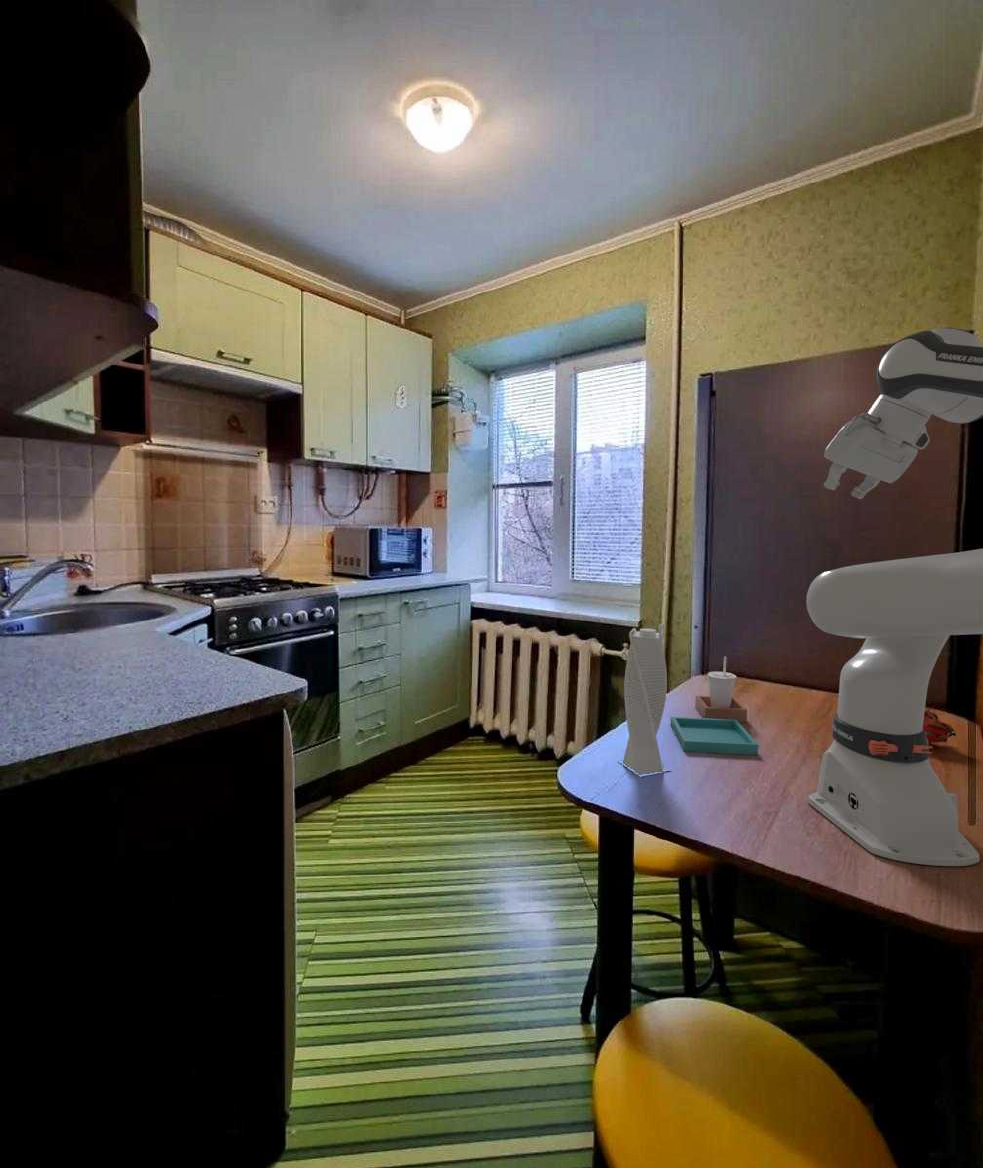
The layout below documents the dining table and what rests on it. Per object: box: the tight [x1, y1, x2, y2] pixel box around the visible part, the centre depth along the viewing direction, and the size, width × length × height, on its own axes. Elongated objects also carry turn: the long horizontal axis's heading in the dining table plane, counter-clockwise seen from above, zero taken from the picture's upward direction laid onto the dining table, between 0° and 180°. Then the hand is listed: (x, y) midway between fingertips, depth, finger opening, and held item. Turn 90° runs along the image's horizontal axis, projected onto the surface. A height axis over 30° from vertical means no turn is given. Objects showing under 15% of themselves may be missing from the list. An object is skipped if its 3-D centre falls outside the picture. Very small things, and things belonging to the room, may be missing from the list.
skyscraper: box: [622, 622, 668, 775], centre depth 102 cm, size 8×8×28 cm
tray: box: [670, 716, 759, 756], centre depth 117 cm, size 14×14×2 cm
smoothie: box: [706, 656, 737, 708], centre depth 131 cm, size 6×6×14 cm
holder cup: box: [694, 695, 748, 723], centre depth 132 cm, size 9×9×3 cm
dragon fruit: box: [923, 708, 957, 749], centre depth 115 cm, size 8×8×12 cm
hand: (842, 493), depth 106 cm, fingers open, 8 cm apart
